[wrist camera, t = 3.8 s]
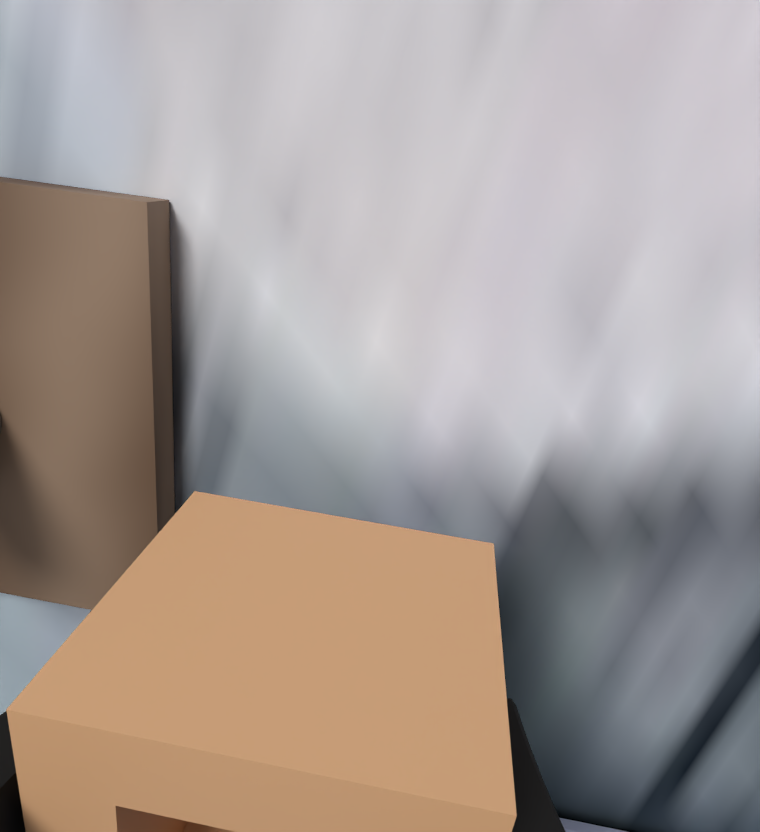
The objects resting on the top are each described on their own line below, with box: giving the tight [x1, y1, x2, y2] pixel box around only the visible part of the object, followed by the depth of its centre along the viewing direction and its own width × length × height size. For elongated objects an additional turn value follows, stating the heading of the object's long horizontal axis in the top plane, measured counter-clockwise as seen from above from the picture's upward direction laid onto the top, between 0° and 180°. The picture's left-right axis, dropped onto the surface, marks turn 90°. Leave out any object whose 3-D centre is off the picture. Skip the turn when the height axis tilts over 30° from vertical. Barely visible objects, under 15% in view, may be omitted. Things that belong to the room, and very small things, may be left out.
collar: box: [6, 491, 517, 832], centre depth 10 cm, size 6×6×5 cm
